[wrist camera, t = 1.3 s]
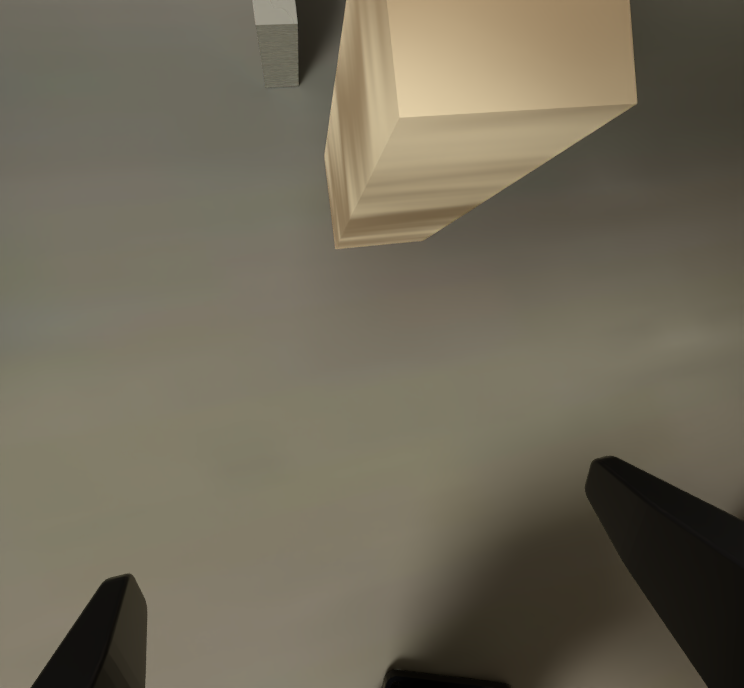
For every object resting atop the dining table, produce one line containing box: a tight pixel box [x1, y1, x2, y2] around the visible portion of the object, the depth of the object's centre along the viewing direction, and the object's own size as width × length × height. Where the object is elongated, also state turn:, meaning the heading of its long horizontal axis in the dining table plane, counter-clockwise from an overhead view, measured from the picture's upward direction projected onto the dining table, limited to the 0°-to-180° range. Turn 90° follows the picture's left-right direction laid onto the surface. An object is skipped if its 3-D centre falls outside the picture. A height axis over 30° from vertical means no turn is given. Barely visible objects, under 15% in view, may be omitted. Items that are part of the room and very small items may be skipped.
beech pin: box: [324, 0, 637, 249], centre depth 14 cm, size 4×4×14 cm
